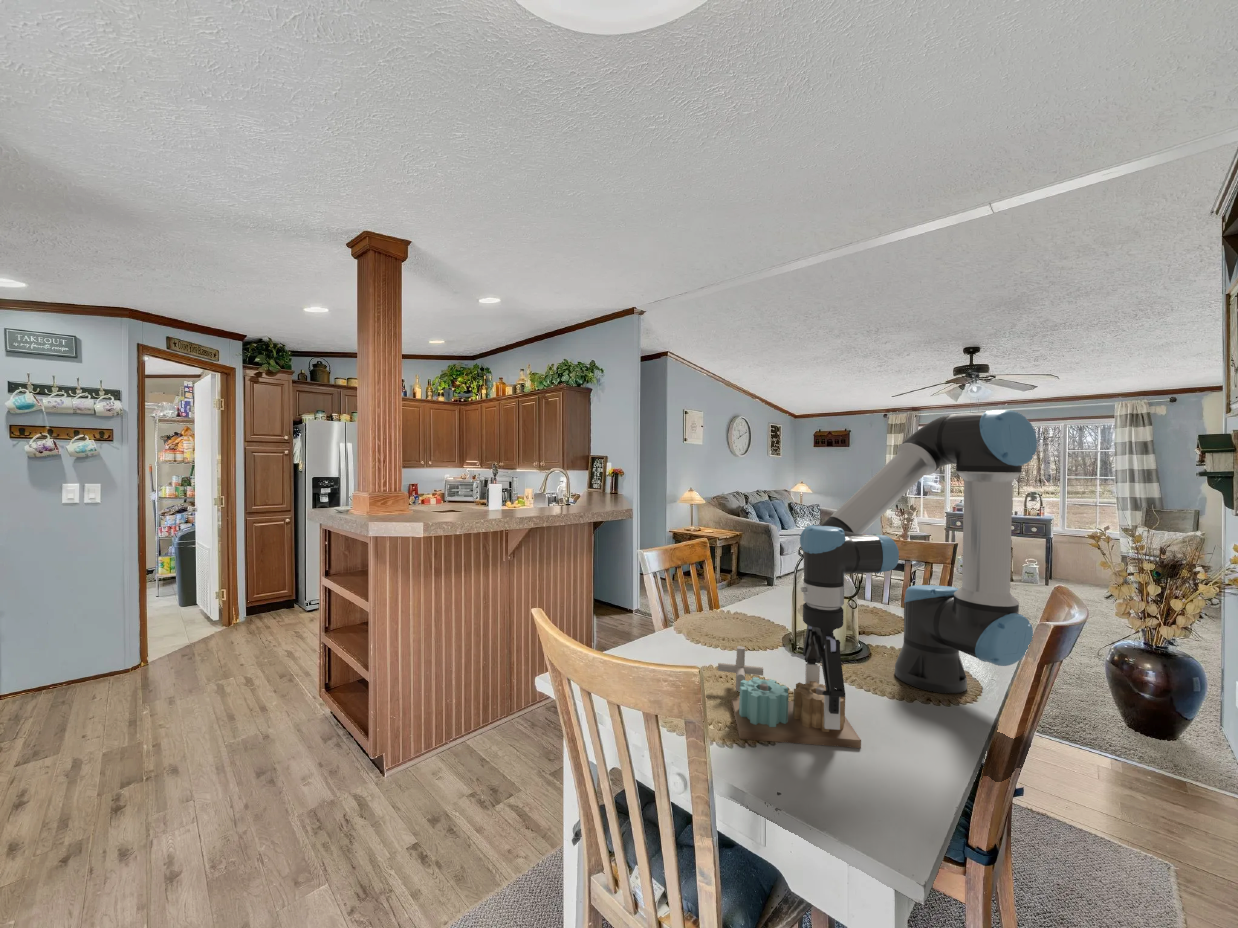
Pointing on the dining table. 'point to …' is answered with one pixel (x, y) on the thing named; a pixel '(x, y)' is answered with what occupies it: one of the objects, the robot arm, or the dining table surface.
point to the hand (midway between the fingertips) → (821, 710)
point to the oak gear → (813, 706)
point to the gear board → (794, 729)
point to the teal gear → (763, 702)
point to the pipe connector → (740, 667)
